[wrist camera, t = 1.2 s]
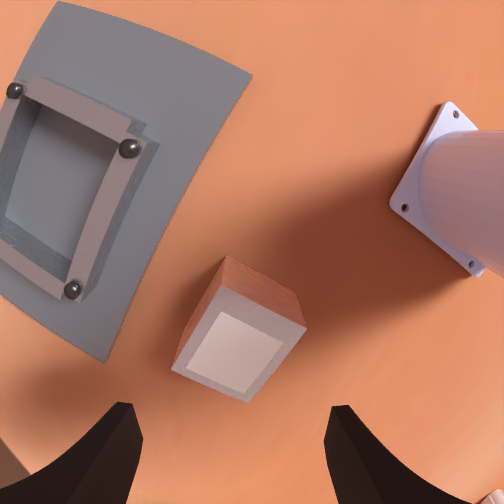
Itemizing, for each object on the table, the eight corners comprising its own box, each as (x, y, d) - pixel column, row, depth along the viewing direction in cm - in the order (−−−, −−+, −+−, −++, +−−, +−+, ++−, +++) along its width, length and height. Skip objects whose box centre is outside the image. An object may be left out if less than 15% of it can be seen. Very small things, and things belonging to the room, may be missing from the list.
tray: (252, 78, 15) (253, 60, 12) (108, 357, 20) (90, 388, 17) (63, 4, 13) (35, -15, 10) (-30, 261, 18) (-58, 276, 15)
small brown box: (294, 291, 19) (307, 329, 15) (247, 358, 21) (248, 404, 16) (226, 254, 18) (221, 285, 14) (184, 327, 20) (170, 370, 16)
